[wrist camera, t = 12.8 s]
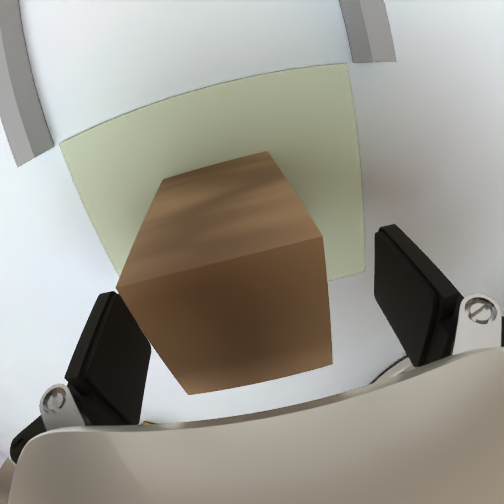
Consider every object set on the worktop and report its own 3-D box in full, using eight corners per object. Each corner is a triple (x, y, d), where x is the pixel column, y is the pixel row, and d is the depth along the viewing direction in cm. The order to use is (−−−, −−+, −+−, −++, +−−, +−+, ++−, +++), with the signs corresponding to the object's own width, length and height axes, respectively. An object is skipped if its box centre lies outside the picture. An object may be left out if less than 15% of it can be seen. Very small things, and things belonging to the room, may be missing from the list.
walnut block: (267, 150, 13) (322, 236, 7) (300, 319, 19) (333, 428, 13) (162, 179, 14) (115, 287, 7) (225, 336, 19) (234, 449, 13)
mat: (343, 63, 12) (346, 63, 11) (362, 268, 18) (364, 271, 18) (61, 142, 12) (59, 144, 12) (147, 320, 18) (146, 323, 18)
